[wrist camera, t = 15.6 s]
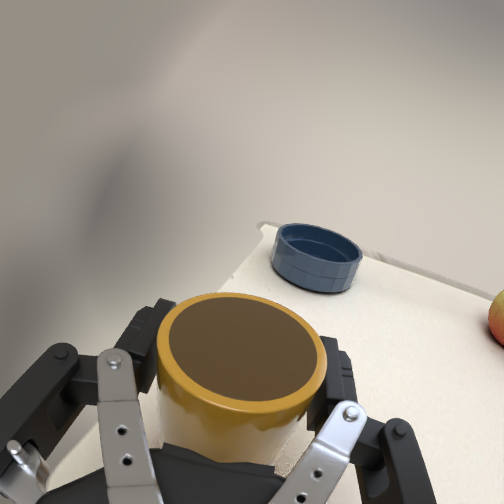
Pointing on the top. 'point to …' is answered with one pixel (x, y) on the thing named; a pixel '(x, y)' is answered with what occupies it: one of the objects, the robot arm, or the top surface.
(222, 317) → the cup
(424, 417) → the top surface
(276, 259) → the bowl
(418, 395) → the top surface
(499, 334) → the apple
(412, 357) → the top surface
